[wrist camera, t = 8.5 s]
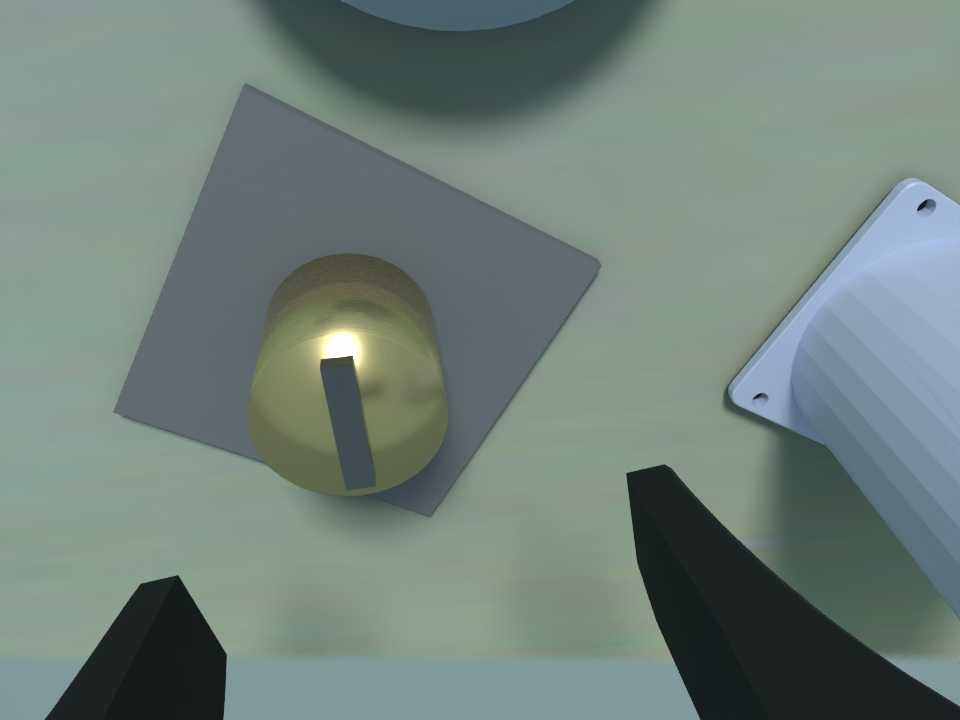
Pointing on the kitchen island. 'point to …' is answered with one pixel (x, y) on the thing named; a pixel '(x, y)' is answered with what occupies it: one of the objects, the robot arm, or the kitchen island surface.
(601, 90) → the kitchen island surface
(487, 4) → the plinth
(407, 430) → the knob
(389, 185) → the mat
